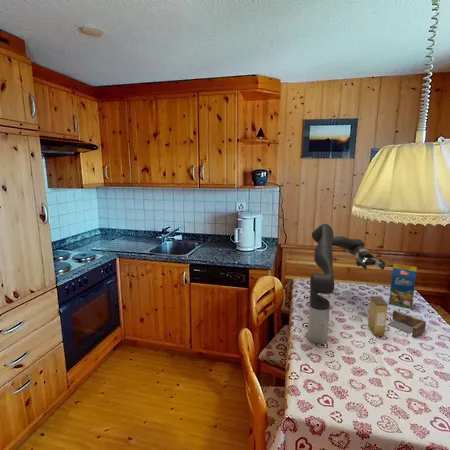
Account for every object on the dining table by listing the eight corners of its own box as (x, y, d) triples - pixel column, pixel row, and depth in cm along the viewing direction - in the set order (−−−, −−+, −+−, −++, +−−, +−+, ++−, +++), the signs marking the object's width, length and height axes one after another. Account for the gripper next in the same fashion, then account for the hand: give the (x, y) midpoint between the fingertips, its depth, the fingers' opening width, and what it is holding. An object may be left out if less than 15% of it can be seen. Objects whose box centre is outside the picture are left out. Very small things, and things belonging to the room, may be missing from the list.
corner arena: (383, 324, 161) (384, 316, 160) (393, 318, 167) (394, 310, 166) (415, 337, 148) (416, 328, 147) (424, 330, 155) (426, 321, 154)
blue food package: (411, 309, 179) (416, 268, 174) (388, 304, 185) (393, 265, 180) (412, 305, 184) (417, 265, 179) (390, 300, 190) (394, 262, 185)
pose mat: (387, 324, 161) (387, 324, 161) (393, 320, 165) (393, 320, 165) (409, 333, 152) (409, 333, 152) (415, 329, 156) (415, 328, 156)
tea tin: (367, 326, 160) (370, 296, 156) (377, 326, 159) (380, 296, 156) (373, 335, 151) (377, 303, 147) (384, 336, 150) (387, 304, 147)
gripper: (352, 250, 175) (361, 260, 160) (378, 250, 174) (389, 261, 158) (351, 262, 177) (359, 273, 162) (376, 263, 176) (387, 274, 160)
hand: (374, 267), depth 160 cm, fingers open, 8 cm apart
